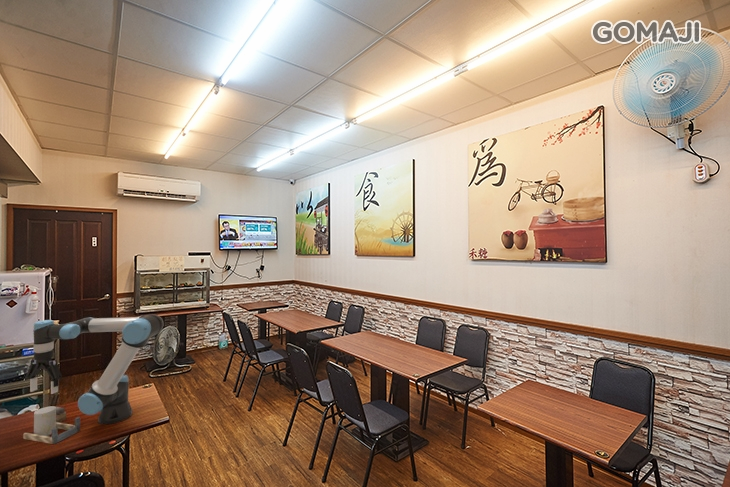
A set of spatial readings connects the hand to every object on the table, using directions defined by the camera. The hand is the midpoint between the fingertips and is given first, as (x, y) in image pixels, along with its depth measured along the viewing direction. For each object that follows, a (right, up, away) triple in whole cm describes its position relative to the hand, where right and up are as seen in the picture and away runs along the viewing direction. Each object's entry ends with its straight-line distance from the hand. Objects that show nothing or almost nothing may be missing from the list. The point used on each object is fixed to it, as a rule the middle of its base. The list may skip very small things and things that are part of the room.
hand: (44, 391), depth 171 cm
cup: (+2, -21, -1) cm, 21 cm away
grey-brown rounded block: (-4, -21, +11) cm, 24 cm away
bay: (+7, -21, -2) cm, 22 cm away
